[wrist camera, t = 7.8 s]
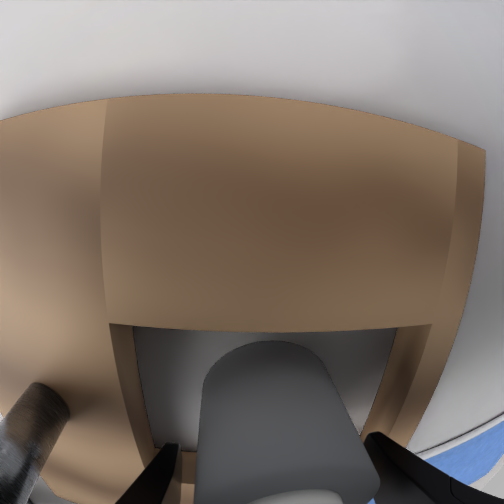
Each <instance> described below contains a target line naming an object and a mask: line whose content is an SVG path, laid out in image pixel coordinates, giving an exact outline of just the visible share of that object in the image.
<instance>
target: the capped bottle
mask: <svg viewBox="0 0 504 504" xmlns="http://www.w3.org/2000/svg"><path fill="white" fill-rule="evenodd" d="M379 487H380V478H379V475H378V473H377V471H376V469H375V467H374V465H373V463H372V461H371V459H370V457H369V455H368V453H367V451H366V449H365V447H364V445H363V443H362V441H361V439H360V437H359V435H358V432H357V430H356V428H355V426H354V424H353V422H352V420H351V418H350V416H349V414H348V412H347V410H346V408H345V406H344V404H343V402H342V400H341V398H340V396H339V394H338V392H337V390H336V388H335V386H334V384H333V382H332V380H331V378H330V376H329V374H328V372H327V370H326V368H325V366H324V365H323V363H322V361H321V360H320V359H319V358H318V357H317V356H316V355H315V354H314V353H312V352H311V351H309V350H308V349H306V348H304V347H302V346H299V345H297V344H293V343H289V342H283V341H262V342H256V343H251V344H248V345H244V346H242V347H239V348H236V349H234V350H233V351H231V352H229V353H227V354H226V355H224V356H223V357H221V358H220V359H219V360H218V361H217V362H216V363H215V364H214V365H213V366H212V367H211V369H210V370H209V372H208V373H207V375H206V378H205V380H204V384H203V391H202V401H201V411H200V422H199V434H198V445H197V458H196V471H195V485H194V501H193V504H368V503H369V502H370V501H371V500H372V498H373V497H374V496H375V494H376V493H377V491H378V489H379Z"/></svg>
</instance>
